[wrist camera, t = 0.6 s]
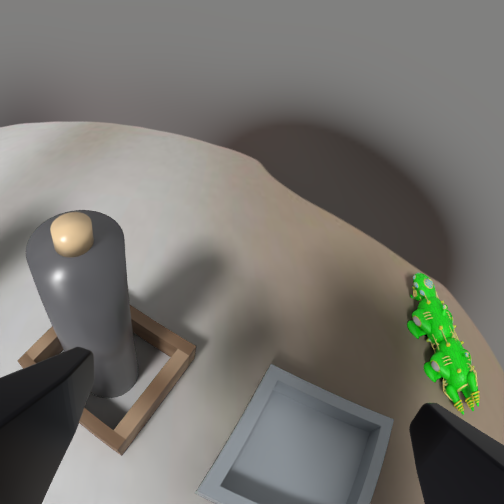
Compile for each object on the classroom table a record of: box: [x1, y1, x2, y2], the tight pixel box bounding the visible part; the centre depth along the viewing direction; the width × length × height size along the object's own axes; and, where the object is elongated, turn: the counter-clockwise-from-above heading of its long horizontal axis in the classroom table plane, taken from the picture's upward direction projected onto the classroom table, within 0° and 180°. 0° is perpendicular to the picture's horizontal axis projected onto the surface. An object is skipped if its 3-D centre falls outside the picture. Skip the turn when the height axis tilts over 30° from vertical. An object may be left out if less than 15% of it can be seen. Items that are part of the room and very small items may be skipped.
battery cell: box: [26, 210, 138, 398], centre depth 17 cm, size 5×5×14 cm
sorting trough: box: [195, 364, 394, 504], centre depth 19 cm, size 11×11×2 cm
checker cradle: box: [18, 305, 196, 456], centre depth 21 cm, size 10×10×2 cm
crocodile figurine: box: [407, 272, 480, 415], centre depth 29 cm, size 7×18×4 cm, turn 4°
